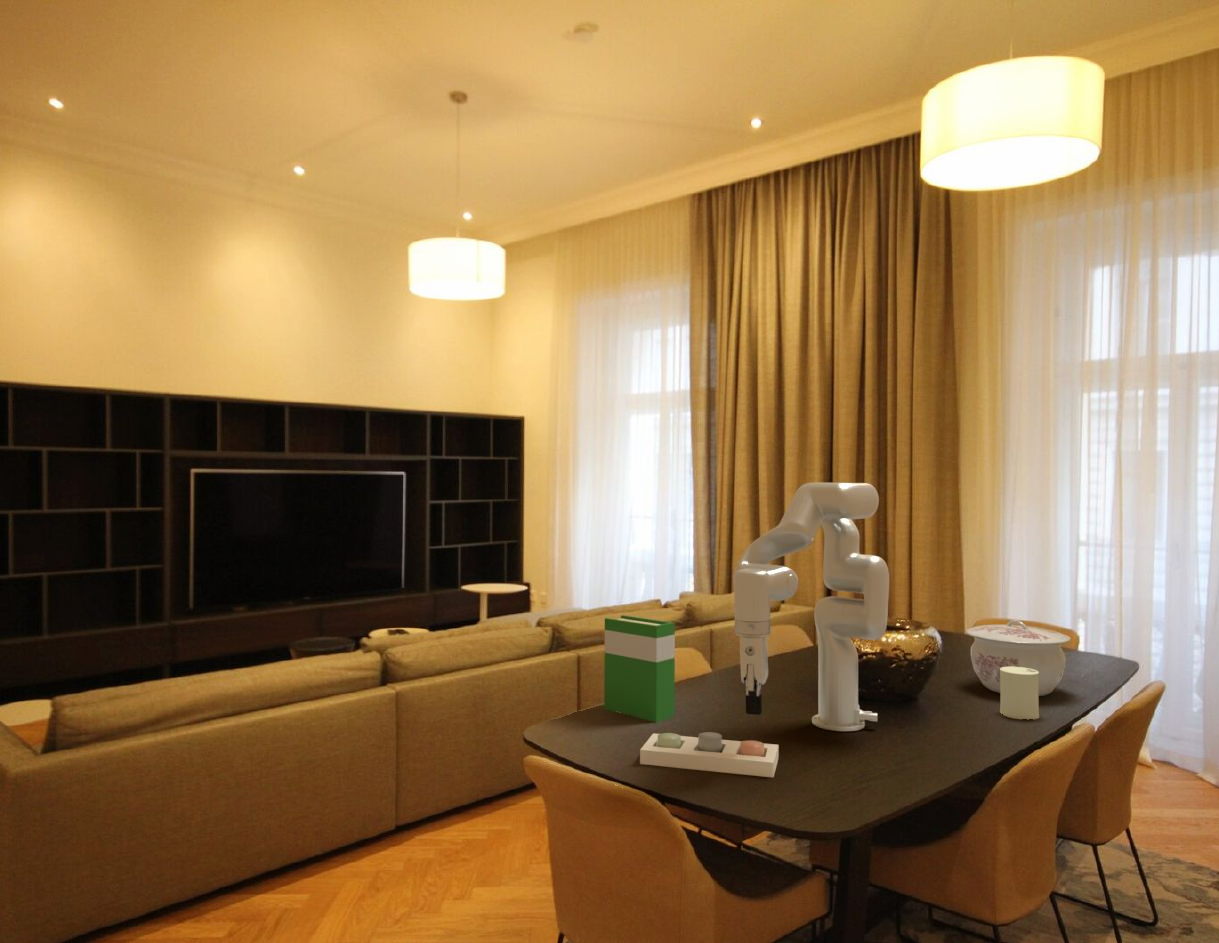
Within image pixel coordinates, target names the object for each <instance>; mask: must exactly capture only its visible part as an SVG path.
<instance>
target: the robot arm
mask: <svg viewBox="0 0 1219 943" xmlns="http://www.w3.org/2000/svg"><path fill="white" fill-rule="evenodd" d="M879 502H880V497H879V493H878V491H877V489H876V487H874V486H873V485H872V484H870V483H868V482H867V483H866V482H807V483H804V484H801V486H799V487H798V489H797V490H796V492H795V494H794V495H793V497H792V499H791V501H790V503H789V505H788V507H787V508H786V510H785V513H783V515H782V517H781V520H780V521H779V524H778V525H776V526H775V527H773V528H772V529H771V530H768V531H767V532H766V533H763V535H760V536H759V537H758V538H756V539H755V540H754V541H753V542H751V543H750V544H749V545H748V546H747V547H746V548H745V550H744V552H743V553H742V555H741V557H740V559H739V561H738V563H737V565H736V567H735V569H734V573H733V577H732V582H733V595H734V596H733V600H734V602H733V603H734V605H733V606H734V635H735V636H737V637H740V638H739V640H740V641H739V642H740V644H739V652H740V653H739V654H740V655H739V656H740V657H739V658H740V660H739V661H740V663H739V664H740V679H741V683H742V684H744V685H745V714H747V715H757V716H759V715H761V714H762V712H763V700H762V699H763V698H762V697H763V695H762V686H763V685H765V684H766V682H767V679H768V677H769V660H768V640H767V637H770V636H771V634H772V632H771V628H772V627H771V602H772V601H787V600H789V599H790V598H792V597H794V595H795V594H796V593H797V591H798V588H799V577H798V575H797V573H796V572H795V571H794V570H793V569H792V568H790V567H788V566H785V565H778V564H777V565H776V564H769V563H770V562H772V561H774V560H776V559H778V558H781V557H785V556H788V555H792V554H795V553H797V552H800V551H803V550H805V549H807V548H809V547H810V546H811V545H812V544H813V541H814V539H815V538H816V535H817V533H818V531H819V529H820V528H822V530H823V534H824V536H823V537H824V538H823V540H824V544H823V547H824V549H823V562H822V563H823V564H822V565H823V566H822V579H823V584H824V586H825V587H826V588H827V589H830V590H832V591H837V592H844V593H845V592H846V593H852V594H853V593H854V594H863V599H862V598H855V597H847V596H836V595H834V596H833V595H831V596H825V597H823V598H821V599H819V600H818V601H817V603H815V607H814V611H813V617H814V624H815V629H816V636H817V647H818V652H817V654H818V656H817V657H818V658H817V659H818V665H817V668H818V671H817V672H818V673H817V674H818V677H817V678H818V679H817V680H818V681H817V683H818V684H817V686H818V689H817V691H818V695H817V696H818V697H817V698H818V699H817V700H818V701H817V702H818V704H817V707H818V713H817V714H815V715H813V716H812V717H811V723H812V725H814V726H816V727H818V728H821V729H822V730H827V731H833V732H855V731H860V730H862V729H864V728H865V725H866V724H865V723H866V722H865V721H870V722H878V713H877V712H873V711H872V710H871V711H870V710H866V711H865V710H862V709H860V704H859V656H858V655H859V654H858V650H857V647H856V645H855V644H854V642H853V641H852V639H851V638H854V639H860V640H861V639H862V640H869V641H875V640H877V641H878V640H879V639H881V638H883V636H885V633H886V630H887V626H888V618H889V615H888V613H889V596H890V593H889V592H890V572H889V568H888V565H887V562H886V561H885V560H884V559H883V558H882V557H880V556H878V555H874V554H864V553H863V554H861V553H860V539H861V538H860V532H859V530H858V526H856V524H855V523H854V521H853V520H860V519H869V518H871V517H872V516H874V515H875V513H876V512H877V510H878V508H879V505H880V504H879Z"/></svg>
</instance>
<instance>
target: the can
mask: <svg viewBox="0 0 1219 943" xmlns="http://www.w3.org/2000/svg"><path fill="white" fill-rule="evenodd" d="M1038 683H1039V672H1038V671H1037V670H1034V669H1030V668H1024V667H1002V668H1000V698H999V700H1000V709H999V714H1000V713H1001V714H1000V715H1002V714H1003V715H1002V716H1004V717H1006V716H1007V718H1010V719H1015V720H1022V719H1027V720H1028V721H1029V719H1033V720H1038V719H1039V718H1040V713H1039V711H1040V710H1039V709H1040V708H1039V707H1040V706H1039V702H1040V701H1039V697H1038ZM1027 720H1026V721H1027Z"/></svg>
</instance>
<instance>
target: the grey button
mask: <svg viewBox="0 0 1219 943" xmlns="http://www.w3.org/2000/svg"><path fill="white" fill-rule="evenodd" d="M722 738H723V736H722V734H720V733H718V732H713V731H707V732H700V733H698V751H707V752H717V753H722V740H723V739H722Z"/></svg>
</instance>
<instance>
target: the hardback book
mask: <svg viewBox="0 0 1219 943" xmlns="http://www.w3.org/2000/svg"><path fill="white" fill-rule="evenodd" d="M675 624H676V623H675V622H673V621H665V620H659V619H653V618H644V617H637V616H632V615H624V614H622V615H620V618H617V619H616V618H610V617H606V618H605V617H604V687H603V688H604V690H603V691H604V692H603V693H604V699H603V700H604V702H603V703H604V710H605V711H609V710H610V711H609V712H613V711H618V712H621V713H624V714H623V715H625V714H628V715H627V716H629V715H631V716H630V717H633V716H634V717H633V718H637V717H638V718H637V719H640V720H645V719H646V720H645V721H649V722H653V723H659V722H662V721H665V720H668V719H671V718H673V717H674V718H675V717H676V716H675V715H676V714H675V710H676V709H675V706H676V705H675V704H676V703H675V702H676V700H675V698H676V697H675V696H676V695H675V689H676V688H675V687H676V686H675V681H676V680H675V677H676V675H675V672H676V671H675V667H676V666H675V662H676V660H675V652H676V651H675V648H676V646H675V645H676V644H675V643H676V642H675V641H676V640H675V638H676V637H675V635H676V634H675V632H676V628H675V627H676V625H675ZM621 713H620V714H621Z"/></svg>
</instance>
